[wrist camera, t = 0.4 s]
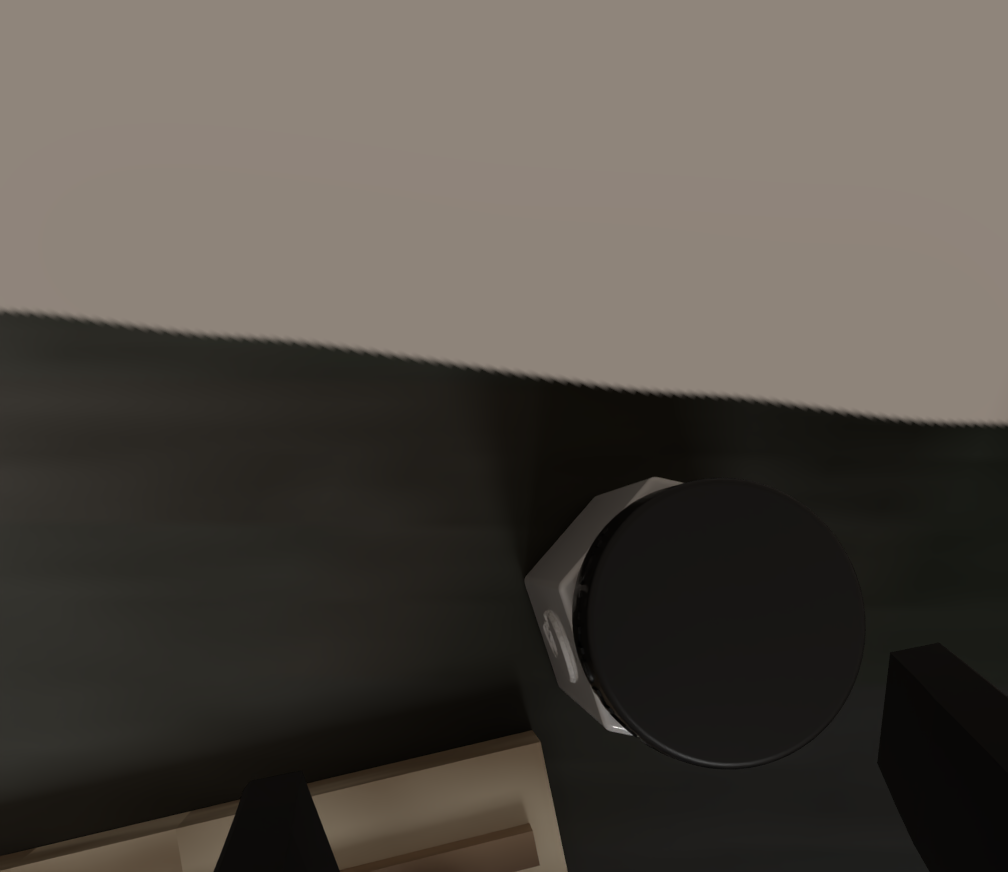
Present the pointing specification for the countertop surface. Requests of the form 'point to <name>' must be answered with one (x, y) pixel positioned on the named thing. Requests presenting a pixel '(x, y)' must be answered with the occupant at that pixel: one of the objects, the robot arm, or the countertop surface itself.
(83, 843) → the board
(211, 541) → the countertop surface
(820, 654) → the jar
